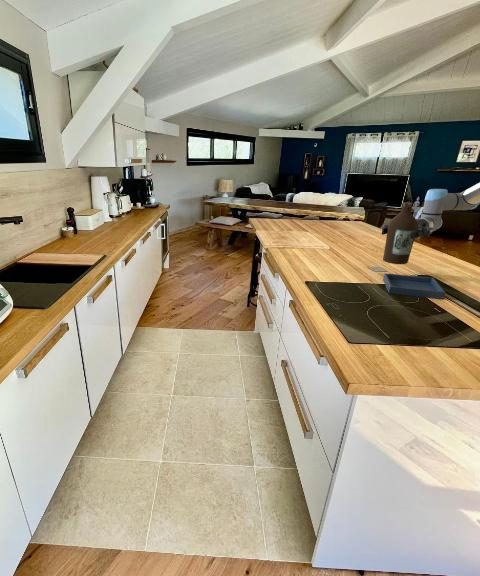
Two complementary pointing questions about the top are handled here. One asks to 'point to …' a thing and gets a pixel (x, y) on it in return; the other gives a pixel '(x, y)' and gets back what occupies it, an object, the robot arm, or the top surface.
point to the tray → (413, 286)
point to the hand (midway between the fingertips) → (396, 233)
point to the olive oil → (400, 236)
